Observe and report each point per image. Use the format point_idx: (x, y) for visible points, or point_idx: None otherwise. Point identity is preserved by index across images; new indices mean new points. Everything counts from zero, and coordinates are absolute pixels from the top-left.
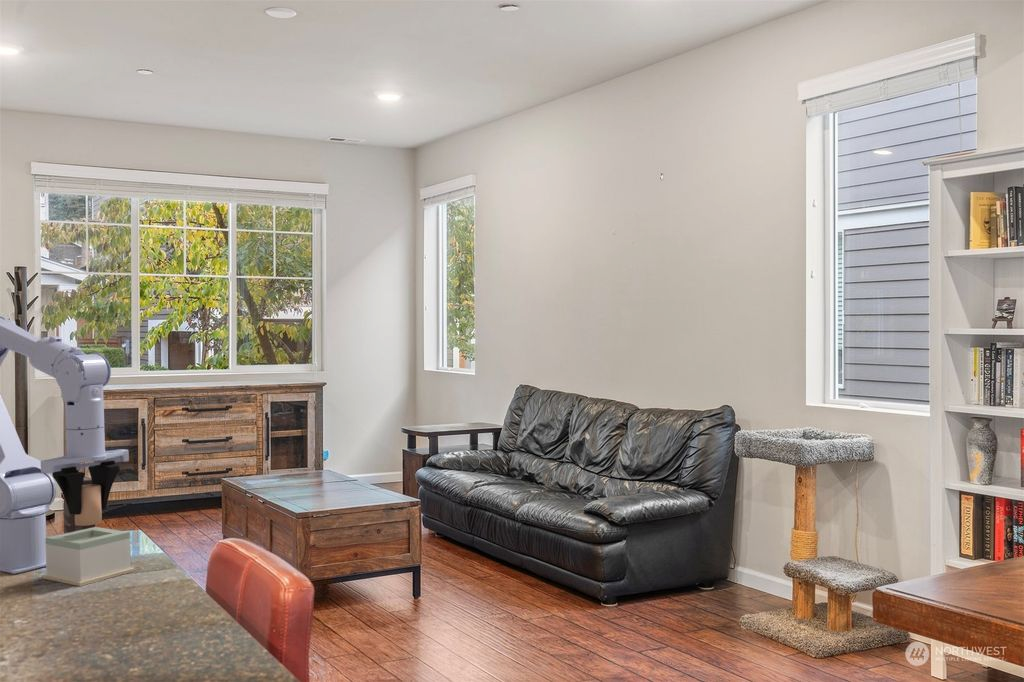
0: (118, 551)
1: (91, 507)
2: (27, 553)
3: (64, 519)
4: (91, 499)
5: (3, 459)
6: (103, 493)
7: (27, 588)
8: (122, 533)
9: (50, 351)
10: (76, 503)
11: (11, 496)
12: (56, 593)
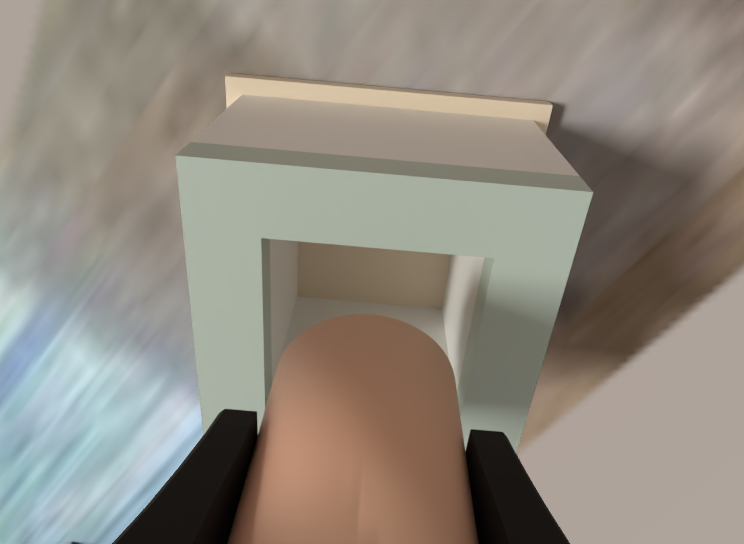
0: (295, 131)
1: (404, 423)
2: None
3: None
4: (403, 489)
5: None
6: (206, 536)
7: (629, 288)
8: (233, 167)
9: None
10: (545, 511)
11: None
12: (682, 103)
